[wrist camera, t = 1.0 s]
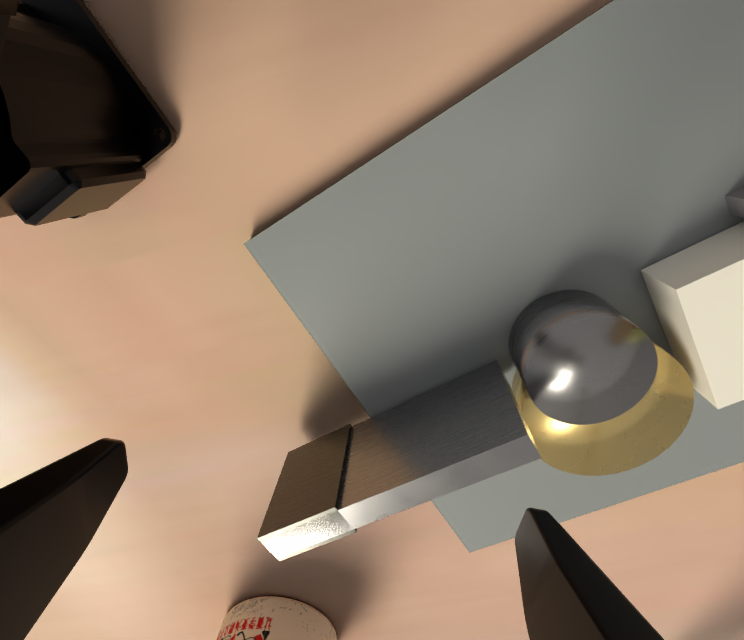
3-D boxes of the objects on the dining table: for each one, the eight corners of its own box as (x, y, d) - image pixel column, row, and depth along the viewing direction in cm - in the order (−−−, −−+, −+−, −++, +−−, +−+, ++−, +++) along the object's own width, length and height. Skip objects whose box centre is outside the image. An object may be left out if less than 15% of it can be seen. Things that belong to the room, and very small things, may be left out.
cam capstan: (271, 428, 22) (233, 514, 17) (624, 256, 17) (715, 306, 12) (360, 533, 25) (349, 633, 20) (684, 412, 20) (779, 504, 15)
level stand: (250, 239, 18) (215, 262, 15) (956, -226, 12) (1184, -376, 8) (467, 540, 25) (477, 602, 22) (989, 362, 18) (1120, 413, 15)
